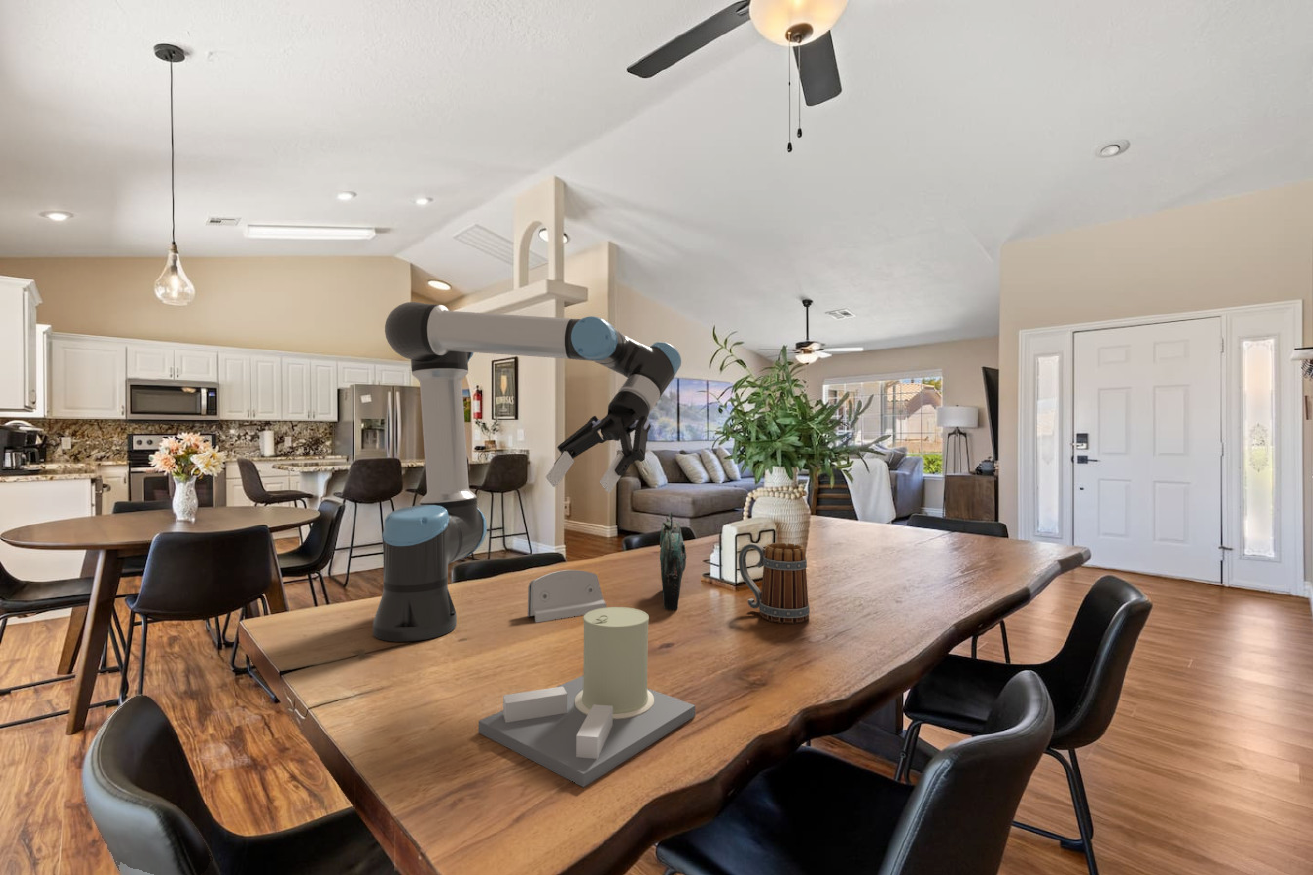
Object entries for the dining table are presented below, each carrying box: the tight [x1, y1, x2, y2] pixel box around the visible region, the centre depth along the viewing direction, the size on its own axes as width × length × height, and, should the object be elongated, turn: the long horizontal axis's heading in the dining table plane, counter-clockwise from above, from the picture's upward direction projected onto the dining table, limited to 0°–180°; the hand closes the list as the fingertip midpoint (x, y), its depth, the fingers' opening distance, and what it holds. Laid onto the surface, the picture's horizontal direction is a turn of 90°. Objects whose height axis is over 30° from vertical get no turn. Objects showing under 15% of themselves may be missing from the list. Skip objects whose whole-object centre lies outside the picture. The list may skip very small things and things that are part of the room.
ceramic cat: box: [659, 511, 687, 611], centre depth 141 cm, size 20×6×20 cm, turn 178°
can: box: [582, 606, 650, 714], centre depth 84 cm, size 9×9×12 cm
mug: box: [738, 542, 811, 625], centre depth 130 cm, size 16×11×15 cm
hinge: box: [527, 569, 607, 623], centre depth 130 cm, size 17×5×10 cm, turn 121°
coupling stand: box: [478, 675, 696, 788], centre depth 80 cm, size 19×22×4 cm
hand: (576, 484), depth 106 cm, fingers open, 13 cm apart
